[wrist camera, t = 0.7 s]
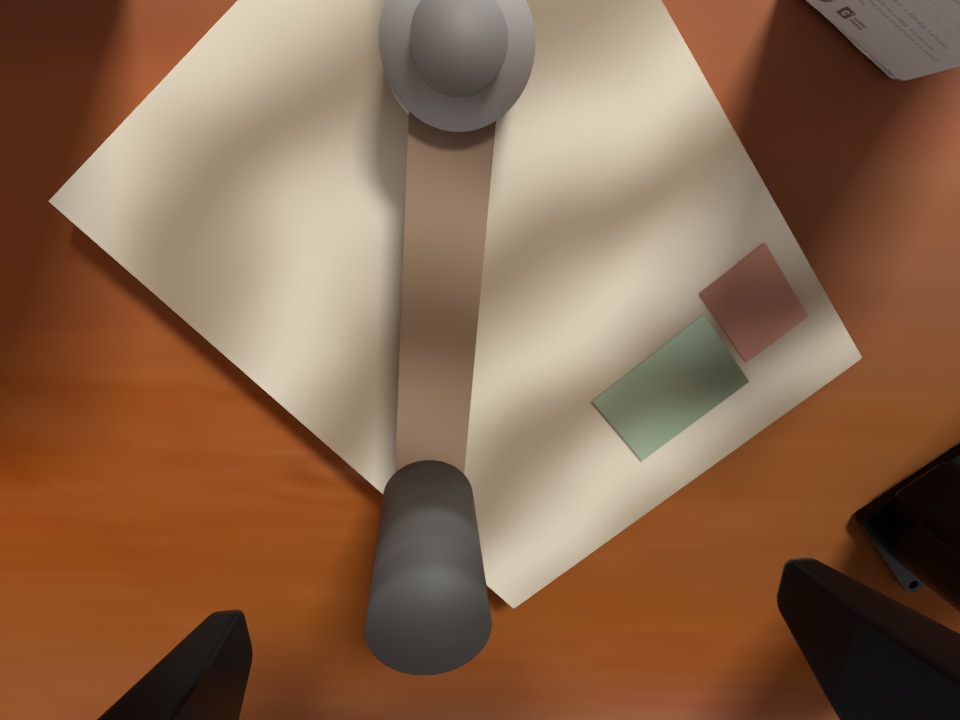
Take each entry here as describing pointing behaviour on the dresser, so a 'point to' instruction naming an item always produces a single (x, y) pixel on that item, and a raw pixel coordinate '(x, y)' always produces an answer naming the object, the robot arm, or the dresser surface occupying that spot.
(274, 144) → the board
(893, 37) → the skincare box
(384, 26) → the lever
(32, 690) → the dresser surface
